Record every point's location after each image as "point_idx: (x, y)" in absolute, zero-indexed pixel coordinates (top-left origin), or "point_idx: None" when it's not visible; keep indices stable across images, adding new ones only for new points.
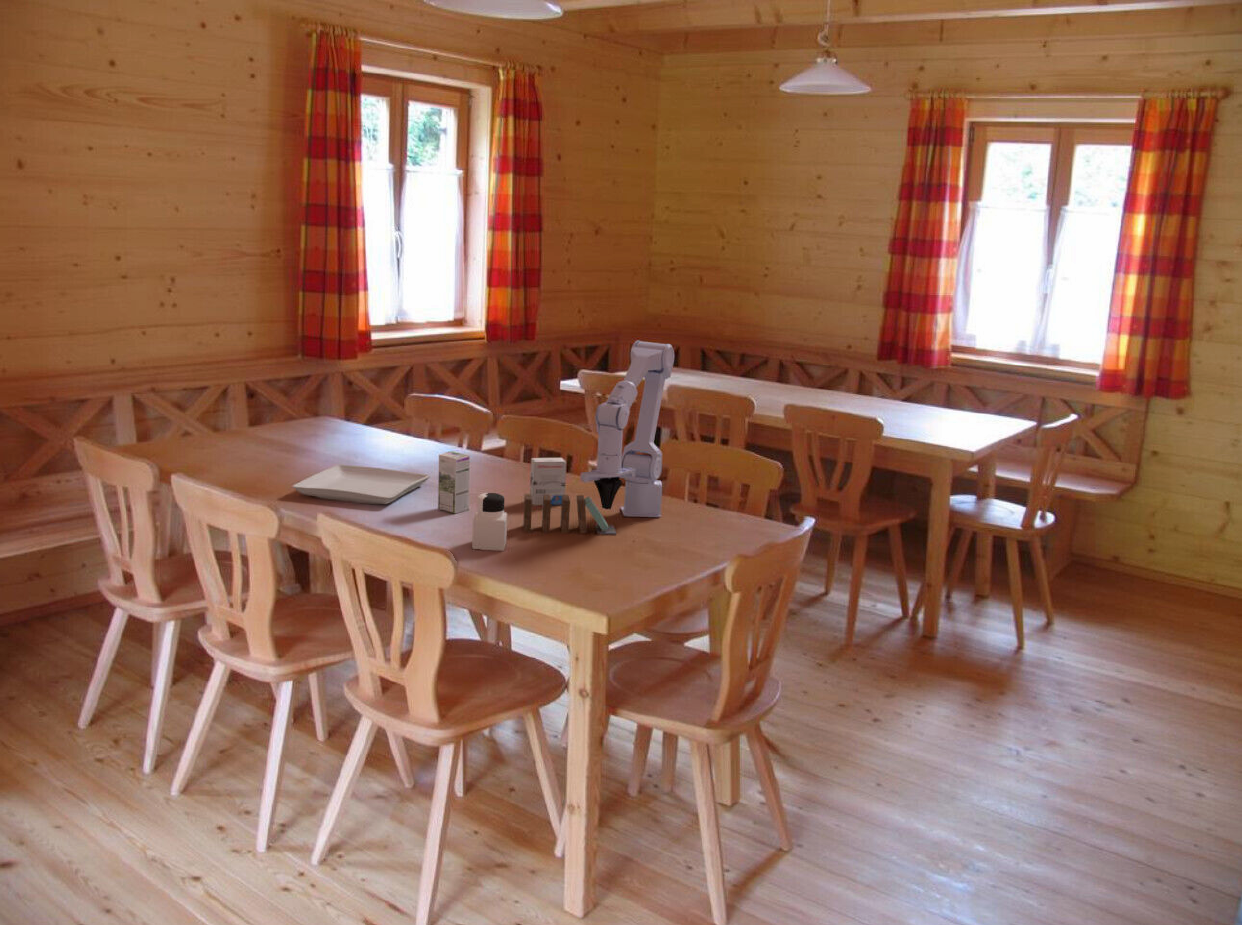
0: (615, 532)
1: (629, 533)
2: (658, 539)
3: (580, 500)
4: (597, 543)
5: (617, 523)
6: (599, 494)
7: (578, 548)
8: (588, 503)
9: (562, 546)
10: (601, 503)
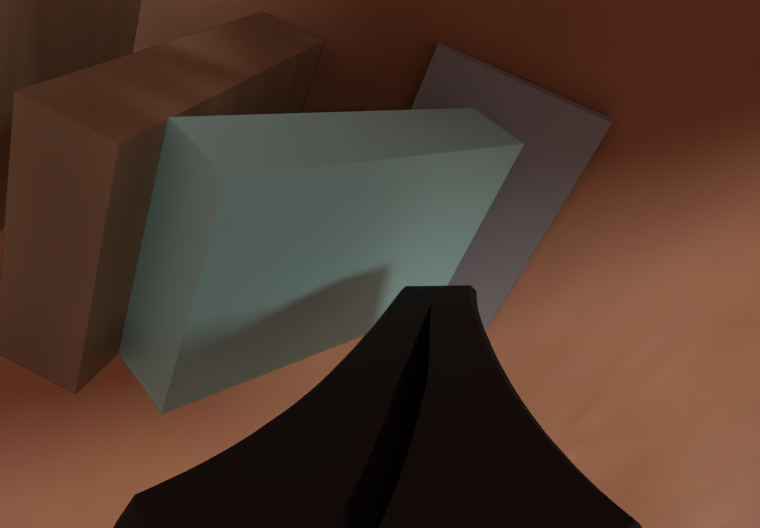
0: (486, 322)
1: (614, 337)
2: (720, 510)
3: (25, 358)
4: (253, 420)
5: (742, 25)
6: (328, 375)
7: (106, 444)
8: (146, 383)
9: (16, 385)
10: (388, 308)
